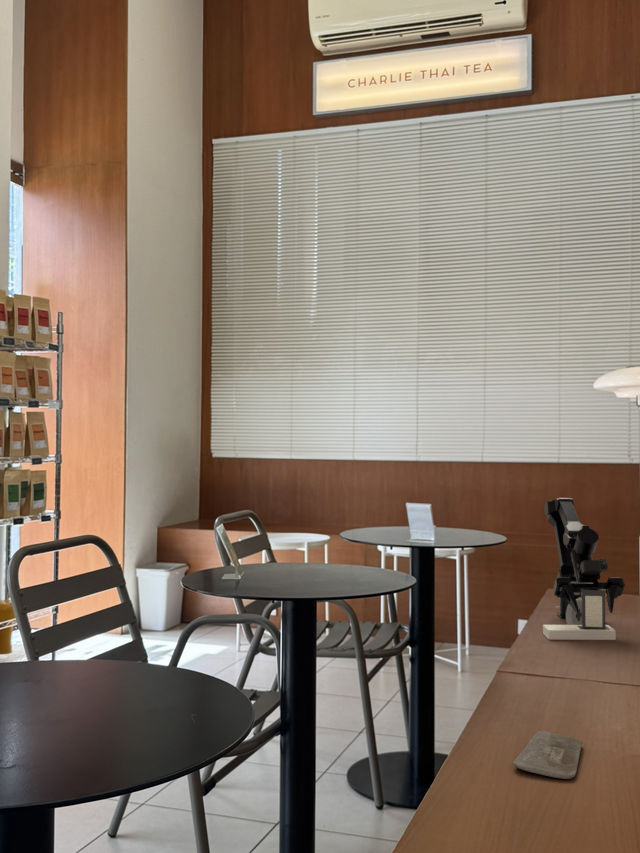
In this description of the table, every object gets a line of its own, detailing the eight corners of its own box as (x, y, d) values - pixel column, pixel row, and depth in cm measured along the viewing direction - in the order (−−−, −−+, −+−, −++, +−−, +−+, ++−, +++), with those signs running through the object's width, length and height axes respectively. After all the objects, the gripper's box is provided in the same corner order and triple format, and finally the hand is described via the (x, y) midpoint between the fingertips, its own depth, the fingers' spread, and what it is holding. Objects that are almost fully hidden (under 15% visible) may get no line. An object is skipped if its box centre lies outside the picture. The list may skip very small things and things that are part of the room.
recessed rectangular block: (543, 633, 240) (543, 624, 240) (608, 634, 239) (608, 625, 239) (548, 639, 233) (548, 630, 233) (615, 639, 232) (615, 630, 232)
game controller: (572, 631, 243) (572, 602, 243) (565, 630, 245) (565, 601, 245) (603, 620, 257) (603, 593, 257) (596, 619, 259) (596, 592, 259)
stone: (573, 778, 136) (510, 762, 140) (571, 795, 136) (509, 778, 140) (589, 734, 153) (532, 720, 157) (587, 749, 153) (531, 735, 157)
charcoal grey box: (581, 631, 238) (581, 588, 238) (604, 632, 237) (603, 588, 237) (582, 634, 235) (582, 590, 235) (605, 634, 234) (605, 590, 234)
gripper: (555, 548, 241) (564, 594, 230) (622, 548, 240) (635, 595, 229) (549, 572, 248) (558, 618, 237) (614, 572, 248) (626, 618, 236)
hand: (594, 612), depth 235 cm, fingers open, 9 cm apart
